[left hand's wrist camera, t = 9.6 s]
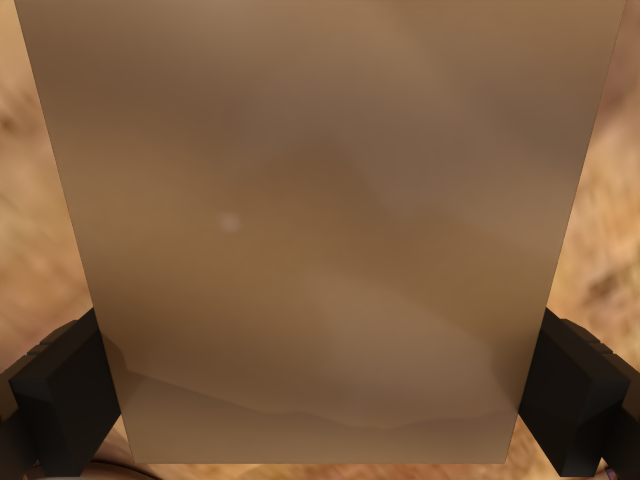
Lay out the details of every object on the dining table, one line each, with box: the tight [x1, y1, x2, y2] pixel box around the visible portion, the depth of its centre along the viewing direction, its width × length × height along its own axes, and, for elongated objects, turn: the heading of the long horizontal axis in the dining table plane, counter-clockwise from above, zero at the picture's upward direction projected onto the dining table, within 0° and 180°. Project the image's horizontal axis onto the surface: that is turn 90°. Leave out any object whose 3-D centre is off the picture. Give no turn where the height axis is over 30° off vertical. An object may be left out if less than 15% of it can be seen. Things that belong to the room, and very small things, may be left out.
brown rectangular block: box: [14, 0, 627, 464], centre depth 11 cm, size 19×11×10 cm, turn 0°
